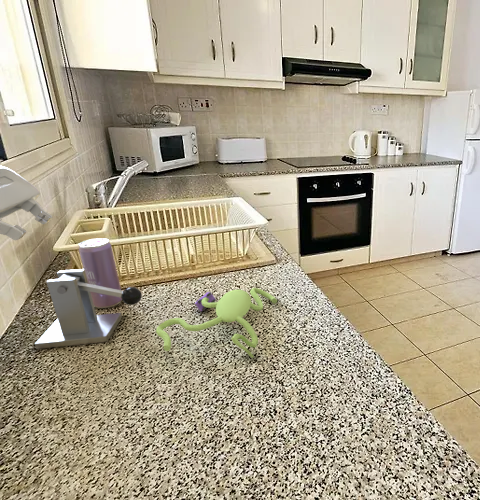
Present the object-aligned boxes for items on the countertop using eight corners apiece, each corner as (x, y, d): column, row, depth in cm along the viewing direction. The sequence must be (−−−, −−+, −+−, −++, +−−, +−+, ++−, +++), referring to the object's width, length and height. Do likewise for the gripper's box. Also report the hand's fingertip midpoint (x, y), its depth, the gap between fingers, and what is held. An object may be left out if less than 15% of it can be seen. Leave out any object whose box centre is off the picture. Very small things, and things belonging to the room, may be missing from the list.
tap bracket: (122, 317, 81) (109, 263, 76) (107, 341, 73) (92, 282, 68) (58, 323, 78) (41, 267, 74) (36, 349, 70) (15, 288, 66)
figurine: (147, 365, 67) (141, 338, 65) (206, 294, 91) (203, 273, 89) (249, 369, 66) (246, 343, 64) (281, 297, 91) (280, 276, 89)
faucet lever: (141, 301, 78) (145, 286, 77) (137, 309, 75) (140, 294, 74) (62, 285, 73) (65, 269, 72) (54, 294, 70) (56, 277, 69)
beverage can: (129, 299, 88) (116, 239, 83) (106, 311, 83) (91, 248, 78) (110, 294, 90) (96, 236, 85) (87, 306, 85) (70, 244, 79)
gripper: (-90, 171, 52) (14, 233, 58) (-2, 154, 70) (70, 202, 76) (-117, 204, 52) (-10, 262, 58) (-22, 178, 71) (51, 224, 77)
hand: (36, 228), depth 67 cm, fingers open, 8 cm apart
